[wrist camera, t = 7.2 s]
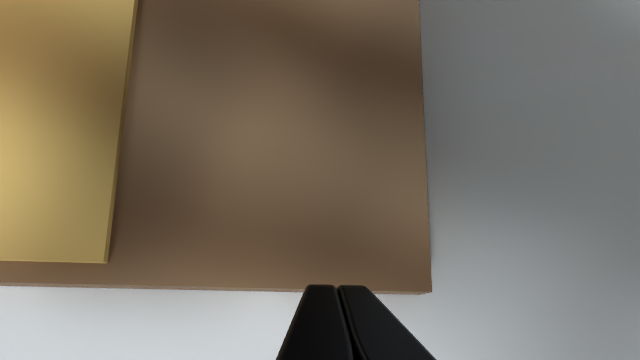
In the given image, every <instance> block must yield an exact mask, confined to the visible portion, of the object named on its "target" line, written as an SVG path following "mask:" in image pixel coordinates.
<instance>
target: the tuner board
mask: <svg viewBox="0 0 640 360" xmlns="http://www.w3.org/2000/svg"><path fill="white" fill-rule="evenodd" d="M309 284H331V285H334V286H335V287H336V288H337V287H338V286H339V285H363V286H366V287H367V288H368V289H369V290H370V291H371V292H372V293H373V294H414V295H420V294H425V293H430V292H432V281H431V259H430V237H429V214H428V192H427V169H426V147H425V124H424V102H423V80H422V57H421V35H420V12H419V0H0V286H38V287H85V288H132V289H179V290H226V291H273V292H304V291H305V288H306V287H307V286H308V285H309Z"/></svg>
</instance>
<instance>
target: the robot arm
mask: <svg viewBox="0 0 640 360" xmlns="http://www.w3.org/2000/svg"><path fill="white" fill-rule="evenodd" d="M276 360H436V359H435V358H434V357H433V356H432V355H431V354H430V352H429V351H428V350H427V349H426V348H425V347H424V346H423V345H422V344H421V343H420V342H419V341H418V340H417V339H416V338H415V337H414V336H413V335H412V334H411V333H410V332H409V330H408V329H407V328H406V327H405V326H404V325H403V324H402V323H401V322H400V321H399V320H398V319H397V318H396V317H395V316H394V315H393V314H392V313H391V312H390V311H389V310H388V308H387V307H386V306H385V305H384V304H383V303H382V302H381V301H380V300H379V299H378V298H377V297H376V296H375V295H374V294H373V293H372V292H371V291H370V290H369V289H368V288H367V287H366V286H363V285H339V286H338V287H337V288H336V287H335V286H334V285H331V284H309V285H308V286H307V287H306V288H305V291H304V293H303V296H302V298H301V300H300V303H299V305H298V308H297V310H296V312H295V315H294V317H293V320H292V322H291V324H290V327H289V329H288V332H287V334H286V337H285V339H284V341H283V344H282V346H281V349H280V351H279V353H278V356H277V358H276Z"/></svg>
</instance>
